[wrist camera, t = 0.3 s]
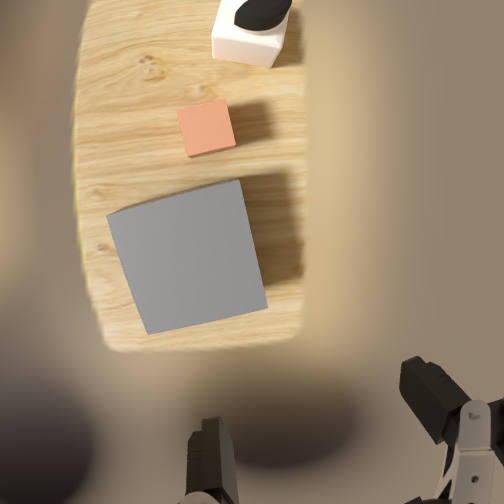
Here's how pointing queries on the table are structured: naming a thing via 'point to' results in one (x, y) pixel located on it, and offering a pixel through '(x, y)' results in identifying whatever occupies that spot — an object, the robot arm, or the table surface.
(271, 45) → the medicine bottle
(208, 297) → the slate pedestal
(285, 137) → the table surface
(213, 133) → the terracotta cube
